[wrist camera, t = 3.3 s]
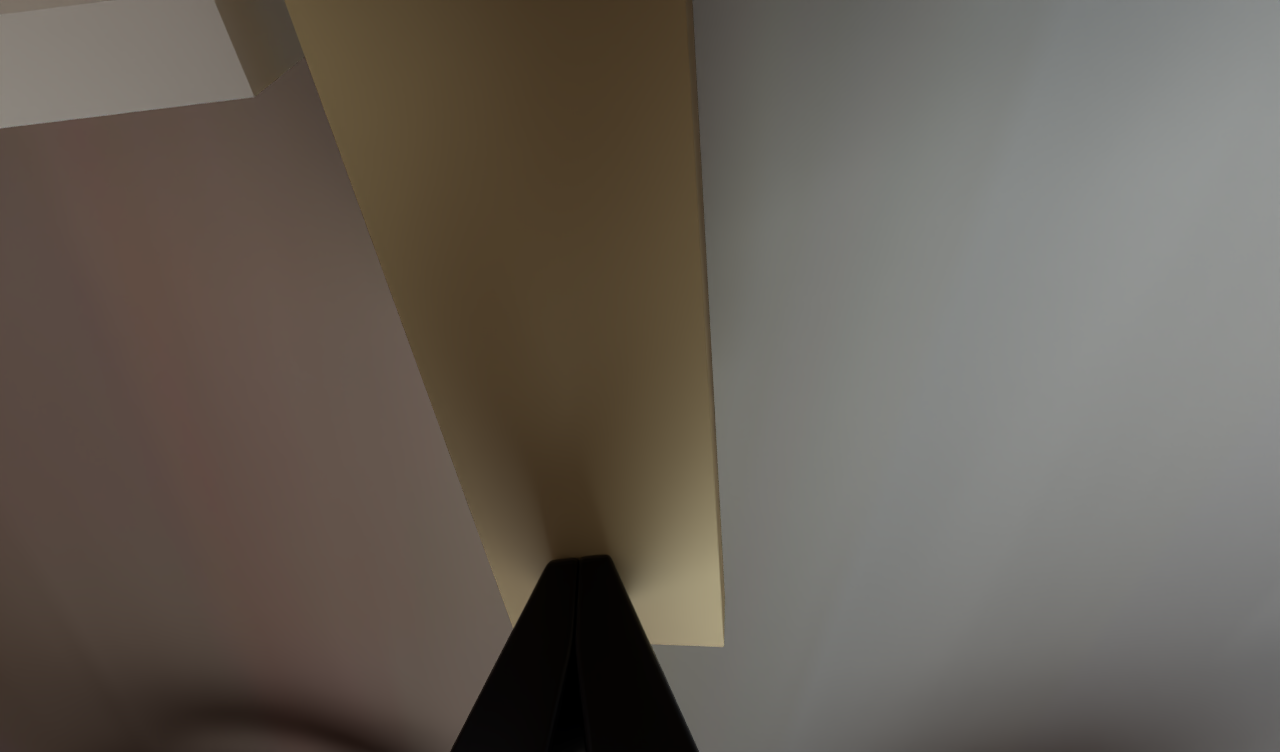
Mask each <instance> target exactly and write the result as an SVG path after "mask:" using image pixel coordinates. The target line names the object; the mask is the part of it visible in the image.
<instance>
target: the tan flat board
mask: <svg viewBox="0 0 1280 752" xmlns="http://www.w3.org/2000/svg"><path fill="white" fill-rule="evenodd" d="M284 1H285V3H286V6H287V9H288V12H289V14H290V17H291V20H292V23H293V25H294V28H295V31H296V34H297V36H298V39H299V42H300V45H301V47H302V50H303V53H304V56H305V58H306V61H307V64H308V67H309V69H310V72H311V75H312V78H313V80H314V83H315V86H316V89H317V91H318V94H319V97H320V100H321V102H322V105H323V108H324V111H325V113H326V116H327V119H328V121H329V124H330V127H331V130H332V132H333V135H334V138H335V141H336V143H337V146H338V149H339V152H340V154H341V157H342V160H343V163H344V165H345V168H346V171H347V174H348V176H349V179H350V182H351V185H352V187H353V190H354V193H355V196H356V198H357V201H358V204H359V207H360V209H361V212H362V215H363V218H364V220H365V223H366V226H367V229H368V231H369V234H370V237H371V239H372V242H373V245H374V248H375V250H376V253H377V256H378V259H379V261H380V264H381V267H382V270H383V272H384V275H385V278H386V281H387V283H388V286H389V289H390V292H391V294H392V297H393V300H394V303H395V305H396V308H397V311H398V314H399V316H400V319H401V322H402V325H403V327H404V330H405V333H406V336H407V338H408V341H409V344H410V347H411V349H412V352H413V355H414V357H415V360H416V363H417V366H418V368H419V371H420V374H421V377H422V379H423V382H424V385H425V388H426V390H427V393H428V396H429V399H430V401H431V404H432V407H433V410H434V412H435V415H436V418H437V421H438V423H439V426H440V429H441V432H442V434H443V437H444V440H445V443H446V445H447V448H448V451H449V454H450V456H451V459H452V462H453V465H454V467H455V470H456V473H457V475H458V478H459V481H460V484H461V486H462V489H463V492H464V495H465V497H466V500H467V503H468V506H469V508H470V511H471V514H472V517H473V519H474V522H475V525H476V528H477V530H478V533H479V536H480V539H481V541H482V544H483V547H484V550H485V552H486V555H487V558H488V561H489V563H490V566H491V569H492V572H493V574H494V577H495V580H496V583H497V585H498V588H499V591H500V594H501V596H502V599H503V602H504V604H505V607H506V610H507V613H508V615H509V618H510V621H511V624H512V626H513V628H514V626H515V624H516V622H517V621H518V619H519V617H520V615H521V613H522V611H523V609H524V607H525V605H526V603H527V601H528V599H529V597H530V595H531V593H532V591H533V589H534V587H535V585H536V584H537V582H538V580H539V578H540V576H541V574H542V572H543V570H544V568H545V566H546V565H547V564H548V563H549V562H550V561H552V560H557V559H566V558H578V559H579V560H580V559H581V558H582V557H584V556H594V555H609V556H610V557H611V558H612V560H613V562H614V564H615V566H616V569H617V571H618V573H619V575H620V577H621V580H622V582H623V584H624V586H625V589H626V591H627V593H628V595H629V597H630V600H631V602H632V604H633V606H634V608H635V611H636V613H637V615H638V617H639V620H640V622H641V624H642V626H643V628H644V631H645V633H646V635H647V637H648V640H649V642H650V644H659V645H686V646H713V647H724V620H725V591H724V573H723V555H722V536H721V518H720V500H719V481H718V463H717V445H716V426H715V408H714V390H713V371H712V353H711V335H710V316H709V298H708V280H707V261H706V243H705V224H704V206H703V188H702V169H701V151H700V133H699V114H698V96H697V78H696V59H695V41H694V23H693V4H692V0H284Z"/></svg>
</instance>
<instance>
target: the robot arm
mask: <svg viewBox="0 0 1280 752" xmlns="http://www.w3.org/2000/svg"><path fill="white" fill-rule="evenodd" d="M450 752H699V750H698V748H697V746H696V744H695V742H694V739H693V737H692V735H691V733H690V730H689V728H688V726H687V724H686V722H685V719H684V717H683V715H682V713H681V710H680V708H679V706H678V704H677V702H676V699H675V697H674V695H673V693H672V691H671V688H670V686H669V684H668V682H667V679H666V677H665V675H664V673H663V671H662V668H661V666H660V664H659V662H658V659H657V657H656V655H655V653H654V651H653V648H652V646H651V644H650V642H649V640H648V637H647V635H646V633H645V631H644V628H643V626H642V624H641V622H640V620H639V617H638V615H637V613H636V611H635V608H634V606H633V604H632V602H631V600H630V597H629V595H628V593H627V591H626V589H625V586H624V584H623V582H622V580H621V577H620V575H619V573H618V571H617V569H616V566H615V564H614V562H613V560H612V558H611V557H610V556H609V555H594V556H584V557H582V558H581V559H580V560H579V559H578V558H566V559H557V560H552V561H550V562H549V563H548V564H547V565H546V566H545V568H544V570H543V572H542V574H541V576H540V578H539V580H538V582H537V584H536V585H535V587H534V589H533V591H532V593H531V595H530V597H529V599H528V601H527V603H526V605H525V607H524V609H523V611H522V613H521V615H520V617H519V619H518V621H517V622H516V624H515V626H514V628H513V630H512V632H511V634H510V636H509V638H508V640H507V642H506V644H505V646H504V648H503V650H502V652H501V654H500V656H499V658H498V659H497V661H496V663H495V665H494V667H493V669H492V671H491V673H490V675H489V677H488V679H487V681H486V683H485V685H484V687H483V689H482V691H481V693H480V694H479V696H478V698H477V700H476V702H475V704H474V706H473V708H472V710H471V712H470V714H469V716H468V718H467V720H466V722H465V724H464V726H463V728H462V730H461V731H460V733H459V735H458V737H457V739H456V741H455V743H454V745H453V747H452V749H451V751H450Z"/></svg>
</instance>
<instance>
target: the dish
mask: <svg viewBox="0 0 1280 752" xmlns="http://www.w3.org/2000/svg"><path fill="white" fill-rule="evenodd" d="M304 57H305V56H304V53H303V50H302V47H301V45H300V42H299V39H298V36H297V34H296V31H295V28H294V25H293V23H292V20H291V17H290V14H289V12H288V9H287V6H286V3H285V1H284V0H0V128H7V127H15V126H23V125H31V124H40V123H48V122H56V121H64V120H72V119H81V118H89V117H97V116H105V115H113V114H121V113H130V112H138V111H146V110H154V109H162V108H170V107H179V106H187V105H195V104H203V103H211V102H219V101H228V100H236V99H244V98H252V97H255V96H257V95H258V94H259V93H260V92H262V91H263V90H264V89H265V88H267V87H268V86H269V85H270V84H271V83H273V82H274V81H275V80H276V79H278V78H279V77H280V76H281V75H283V74H284V73H285V72H286V71H288V70H289V69H290V68H291V67H292V66H294V65H295V64H296V63H297V62H299V61H300V60H301V59H302V58H304Z"/></svg>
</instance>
